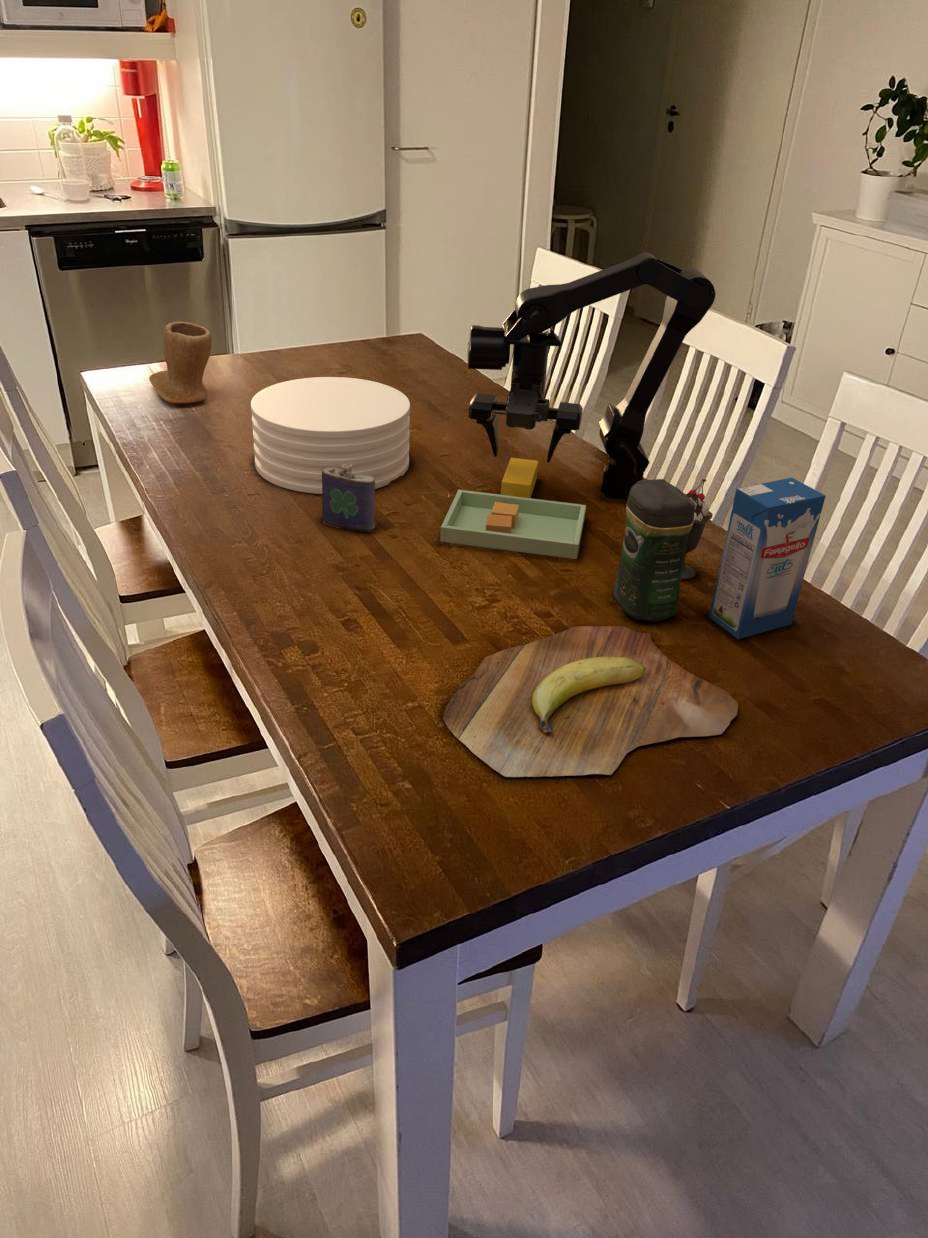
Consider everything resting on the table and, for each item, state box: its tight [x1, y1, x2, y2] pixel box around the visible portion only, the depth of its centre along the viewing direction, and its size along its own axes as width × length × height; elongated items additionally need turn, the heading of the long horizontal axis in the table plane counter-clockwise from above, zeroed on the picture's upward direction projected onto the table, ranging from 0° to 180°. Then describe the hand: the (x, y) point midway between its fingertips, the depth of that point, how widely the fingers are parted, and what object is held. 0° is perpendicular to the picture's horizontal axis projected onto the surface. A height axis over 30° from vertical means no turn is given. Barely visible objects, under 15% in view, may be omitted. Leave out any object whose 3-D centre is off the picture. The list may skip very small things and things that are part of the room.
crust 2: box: [486, 514, 512, 534], centre depth 156 cm, size 4×4×2 cm
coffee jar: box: [613, 478, 695, 623], centre depth 135 cm, size 10×8×19 cm
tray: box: [439, 489, 587, 560], centre depth 157 cm, size 22×15×3 cm
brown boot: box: [148, 321, 213, 404], centre depth 201 cm, size 15×12×15 cm
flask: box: [321, 463, 376, 534], centre depth 155 cm, size 9×3×11 cm, turn 68°
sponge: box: [500, 457, 539, 499], centre depth 171 cm, size 5×11×4 cm, turn 169°
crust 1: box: [491, 502, 519, 529], centre depth 159 cm, size 4×4×2 cm
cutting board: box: [442, 625, 739, 778], centre depth 119 cm, size 35×27×4 cm
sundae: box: [681, 478, 713, 581], centre depth 146 cm, size 7×7×15 cm
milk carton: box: [708, 477, 827, 640], centre depth 133 cm, size 10×6×20 cm, turn 117°
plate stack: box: [250, 376, 411, 495], centre depth 176 cm, size 28×28×12 cm
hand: (521, 458), depth 169 cm, fingers open, 9 cm apart
